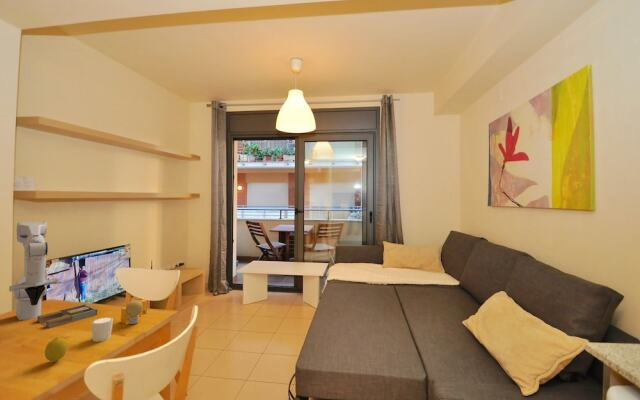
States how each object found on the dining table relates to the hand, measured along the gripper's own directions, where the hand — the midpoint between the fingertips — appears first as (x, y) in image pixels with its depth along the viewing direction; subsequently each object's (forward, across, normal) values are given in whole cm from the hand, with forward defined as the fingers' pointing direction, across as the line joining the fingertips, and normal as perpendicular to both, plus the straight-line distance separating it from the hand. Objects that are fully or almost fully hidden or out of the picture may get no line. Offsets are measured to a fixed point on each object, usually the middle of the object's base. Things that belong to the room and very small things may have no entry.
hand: (34, 304), depth 118 cm
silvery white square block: (+9, +17, 0) cm, 19 cm away
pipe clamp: (+10, +28, -21) cm, 36 cm away
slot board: (+10, +11, 0) cm, 15 cm away
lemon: (+10, -5, -38) cm, 39 cm away
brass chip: (+9, +13, 0) cm, 16 cm away
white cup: (+10, +11, -32) cm, 35 cm away
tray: (+9, +15, 0) cm, 18 cm away
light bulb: (+10, +25, -28) cm, 39 cm away
